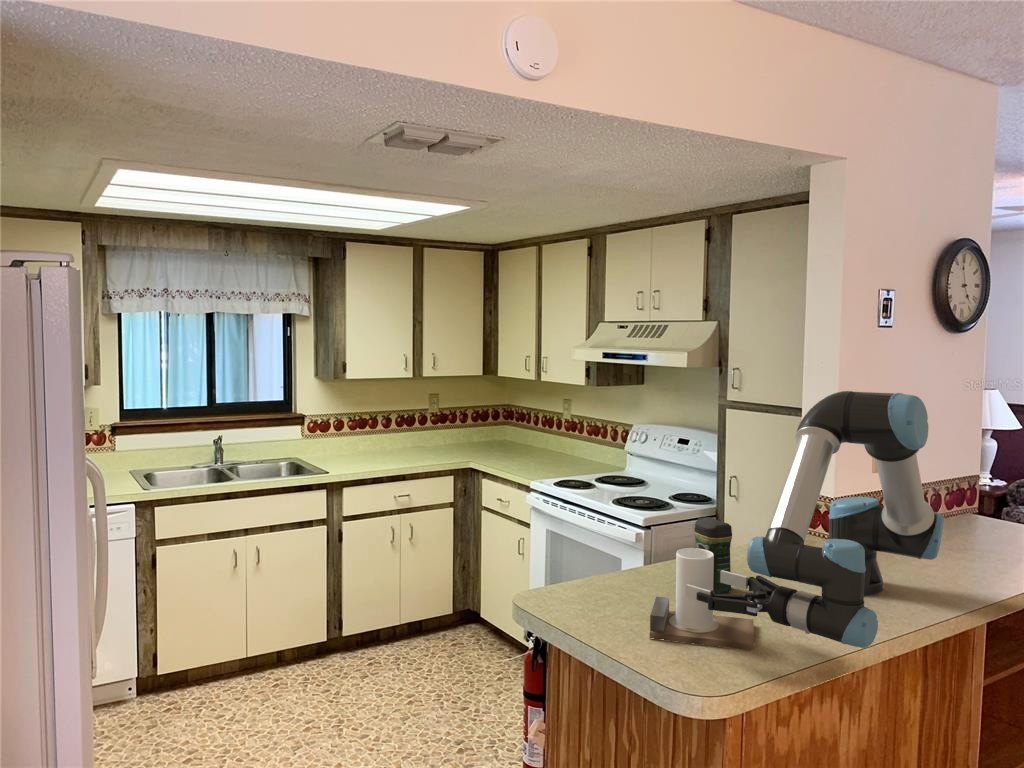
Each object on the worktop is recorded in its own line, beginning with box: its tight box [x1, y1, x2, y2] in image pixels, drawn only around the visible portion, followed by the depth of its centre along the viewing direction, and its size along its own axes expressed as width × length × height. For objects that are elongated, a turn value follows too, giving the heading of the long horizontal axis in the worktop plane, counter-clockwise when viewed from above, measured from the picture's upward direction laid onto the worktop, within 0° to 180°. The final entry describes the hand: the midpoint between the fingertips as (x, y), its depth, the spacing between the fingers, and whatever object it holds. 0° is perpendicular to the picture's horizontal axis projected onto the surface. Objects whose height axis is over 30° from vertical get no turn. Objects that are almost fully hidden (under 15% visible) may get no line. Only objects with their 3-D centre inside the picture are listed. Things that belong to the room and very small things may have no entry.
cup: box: [675, 547, 714, 629], centre depth 175 cm, size 8×8×16 cm
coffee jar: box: [693, 516, 733, 594], centre depth 200 cm, size 10×8×19 cm
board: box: [649, 596, 755, 651], centre depth 174 cm, size 22×14×5 cm, turn 73°
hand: (704, 583), depth 172 cm, fingers open, 13 cm apart
